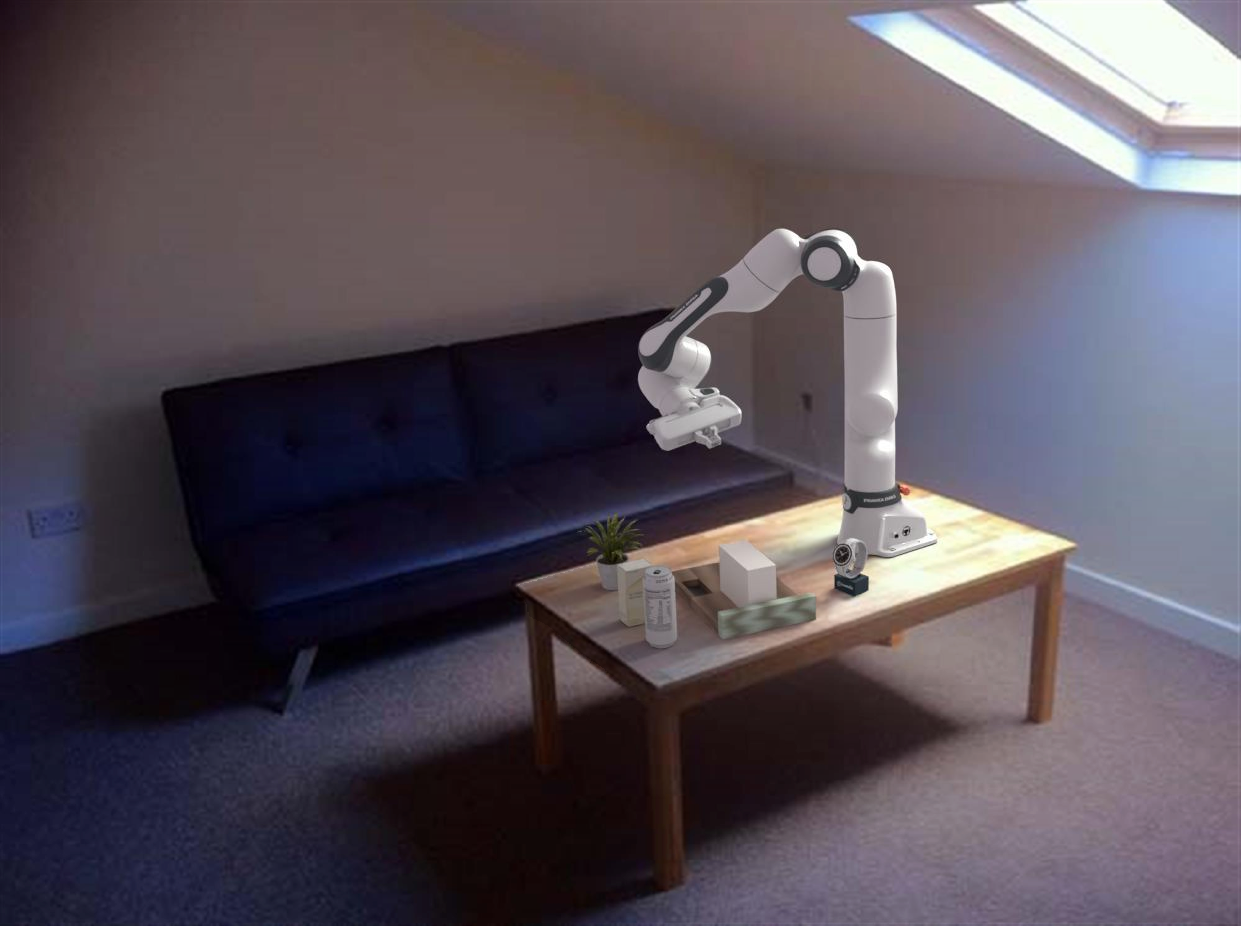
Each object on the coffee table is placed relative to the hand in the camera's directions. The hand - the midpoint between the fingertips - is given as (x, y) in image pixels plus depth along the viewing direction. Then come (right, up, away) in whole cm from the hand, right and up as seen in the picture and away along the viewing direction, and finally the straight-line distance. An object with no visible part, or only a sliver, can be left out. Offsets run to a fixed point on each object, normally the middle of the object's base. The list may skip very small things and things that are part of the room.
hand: (715, 444), depth 240 cm
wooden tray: (+4, -32, -10) cm, 34 cm away
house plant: (-23, -31, -1) cm, 38 cm away
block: (+5, -32, -16) cm, 36 cm away
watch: (+27, -31, -9) cm, 42 cm away
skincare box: (-17, -36, -16) cm, 43 cm away
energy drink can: (-13, -39, -26) cm, 48 cm away
